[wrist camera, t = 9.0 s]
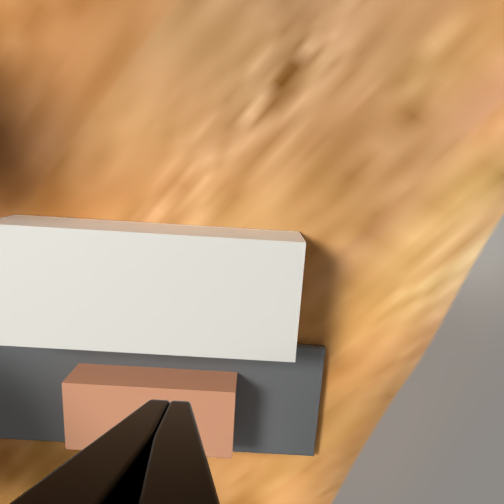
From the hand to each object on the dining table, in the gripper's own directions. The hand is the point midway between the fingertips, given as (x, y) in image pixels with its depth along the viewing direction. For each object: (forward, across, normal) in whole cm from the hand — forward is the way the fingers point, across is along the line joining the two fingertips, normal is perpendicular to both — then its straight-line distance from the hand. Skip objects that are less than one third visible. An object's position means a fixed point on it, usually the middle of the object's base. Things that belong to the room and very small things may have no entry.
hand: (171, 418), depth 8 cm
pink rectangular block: (+11, +3, +8) cm, 14 cm away
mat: (+13, +4, +8) cm, 16 cm away
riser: (+13, +4, +1) cm, 14 cm away
